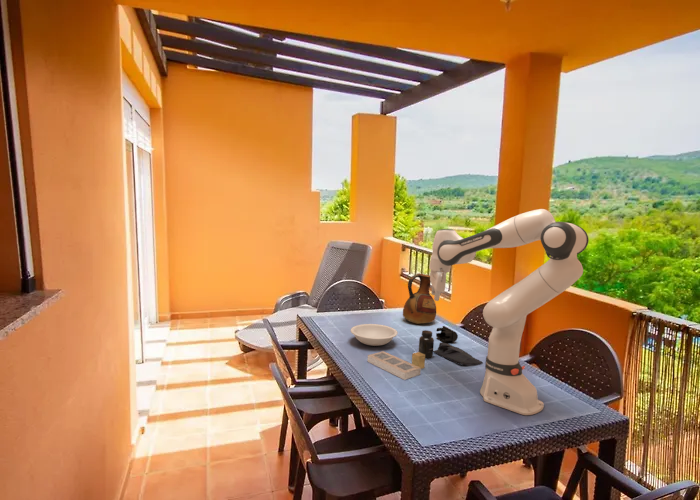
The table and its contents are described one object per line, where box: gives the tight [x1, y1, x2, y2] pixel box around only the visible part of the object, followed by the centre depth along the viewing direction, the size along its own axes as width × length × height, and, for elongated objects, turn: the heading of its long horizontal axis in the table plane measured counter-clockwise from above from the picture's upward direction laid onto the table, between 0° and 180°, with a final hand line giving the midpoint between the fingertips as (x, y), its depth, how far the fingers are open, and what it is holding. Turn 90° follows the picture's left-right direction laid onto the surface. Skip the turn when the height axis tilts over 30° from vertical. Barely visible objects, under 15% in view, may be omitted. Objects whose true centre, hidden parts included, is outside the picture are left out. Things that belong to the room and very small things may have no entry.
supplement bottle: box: [417, 329, 435, 360], centre depth 193 cm, size 7×7×12 cm
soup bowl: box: [350, 323, 398, 347], centre depth 208 cm, size 24×24×7 cm
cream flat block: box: [367, 350, 422, 381], centre depth 178 cm, size 23×10×3 cm, turn 39°
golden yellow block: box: [411, 351, 426, 370], centre depth 179 cm, size 4×4×6 cm
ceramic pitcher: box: [402, 273, 437, 325], centre depth 249 cm, size 20×20×30 cm
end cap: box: [435, 325, 458, 345], centre depth 217 cm, size 10×7×7 cm
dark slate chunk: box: [433, 341, 483, 366], centre depth 193 cm, size 15×22×5 cm
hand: (434, 297), depth 176 cm, fingers open, 8 cm apart
